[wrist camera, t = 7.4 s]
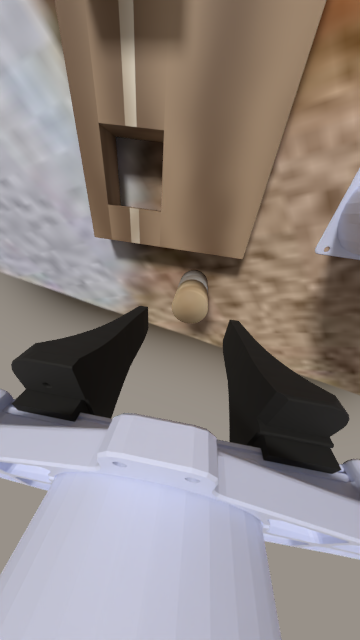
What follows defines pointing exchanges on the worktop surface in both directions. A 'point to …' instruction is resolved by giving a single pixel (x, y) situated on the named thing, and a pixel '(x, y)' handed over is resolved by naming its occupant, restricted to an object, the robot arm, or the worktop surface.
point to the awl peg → (191, 298)
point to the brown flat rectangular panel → (185, 108)
